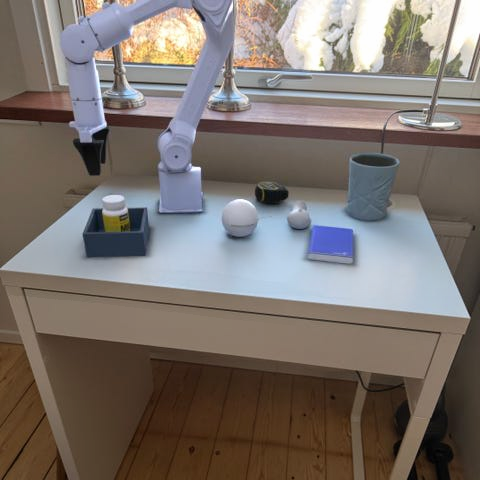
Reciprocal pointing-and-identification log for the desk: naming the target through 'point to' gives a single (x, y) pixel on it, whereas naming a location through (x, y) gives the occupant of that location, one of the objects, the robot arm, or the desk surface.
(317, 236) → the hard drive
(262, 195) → the tape measure
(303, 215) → the pale two-lobed sculpture
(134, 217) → the desk bin
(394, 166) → the embossed planter pot
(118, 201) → the supplement bottle
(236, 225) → the seamed sphere
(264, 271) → the desk surface
